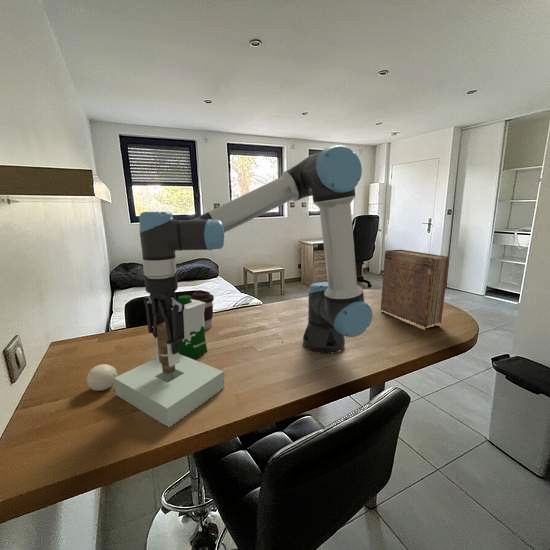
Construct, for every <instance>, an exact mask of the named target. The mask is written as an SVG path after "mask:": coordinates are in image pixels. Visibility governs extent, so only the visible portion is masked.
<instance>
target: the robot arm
mask: <svg viewBox="0 0 550 550" xmlns="http://www.w3.org/2000/svg"><path fill="white" fill-rule="evenodd" d="M362 169H363V168H362V164H361V160H360V158H359V156H358V154H357V153H356V152H355V151H353V150H352V149H351V148H350V147H348V146H345V145H334V146H330V147H326V148H325V147H324V149H323V150H320V151H318V152H317V153H314V154H312V155H309V156H308V157H306V158H305V159H303V160H302V161H300V162H298V163H297V164H295V165H293V167H290V168H288V169H286V170H285V171H283V172H282V173H281V176H280V177H278V178H276V179H274V180H272V181H270V182H268V183H265V184H264V185H262V186H259V187H257V188H256V189H252V190H251V191H249V192H247V193H245V194H242V195H240V196H238V197H236V198H234V199H232V200H230V201H228V202H226V203H224V204H221V205H219V206H218V207H216V208H213V209H211V210H209V211H208V212H204V213H203V214H201V215H198V216H197V217H193V218H191V219H175V218H174V216H173V213H172V211H171V212H170V211H143V212H141V213H140V214H139V217H138V219H139V236H140V245H141V246H140V247H141V253H142V255H141V256H142V265H143V266H142V269H143V275H144V276H145V278H144V286H145V287H144V289H145V291H146V293H148V294H149V295H147V296H144V297H143V298H142V299H143V300H142V301H143V302H144V303H143V304H144V307H145V313H146V315H145V316H146V321H147V324H146V325H147V330H148V333H149V334H152V336H153V338H154V345H155V348H156V349H155V350H156V358H157V361H160V357H159V346H158V335H157V324H159V323H162V322H165V325H166V329H167V334H168V338H169V341H168V342H167V350H168V362H169V366H170V367H171V366H173V365H175V364H177V363H179V341H181V340H183V339H184V338H185V337H184V316H183V311H184V307H185V305H184V303H179V302H178V300H177V296H176V294H175V293H176V291H177V290H178V288H179V286H178V276H177V264H176V263H177V261H176V251H177V252H178V251H179V252H180V251H207V250H208V251H213V250H221V249H222V248H223V247H224V246H225V245H224V244H225V233H228V232H230V231H231V230H233V229H235V228H237V227H239V226H241V225H244V224H245V223H247V222H250V221H251V220H253V219H256V218H258V217H260V216H262V215H265V214H266V213H268V212H270V211H272V210H274V209H276V208H278V207H280V206H282V205H284V204H286V203H288V202H290V201H293V202H298V201H300V200H301V199H305V198H307V197H312V202H313V204H314V205H315V206H317V207H318V208H319V216H320V224H321V233H322V235H321V236H322V241H323V251H324V259H325V260H324V261H325V268H326V276H327V277H326V278H327V281H323V282H321V281H320V282H314V283H312V284H310V285H309V286H308V287H309V289H308V293H307V294H308V313H307V314H308V315H307V319H308V320H307V325H306V328H305V331H304V332H303V333H304V334H303V337H302V344H303V346H304V347H305V348H306V349H307V348H308V351H311V352H314V351H315V353H318V352H320V354H332V353H331V352H335V353H338V352H337V351H339V350H341V349H342V350H343V349H344V348H345V347H344V346H345V344H346V340H345V337H347V338H353V337H358V336H360V335H362V334H364V333H365V332H366V330H368V327H370V325H371V324H372V321H373V317H374V315H373V310H372V307H371V306H370V305H369V303H367V302H365V297H364V296H365V295H364V294H365V293H364V289H363V288H362V286H360V285H358V276H357V264H356V255H355V241H354V230H353V220H352V219H353V217H352V206H351V204H352V202H353V200H355V198H356V189H355V188H356V187H357V186H358V184H359V181H361V178H362V174H363V173H362V172H363V170H362ZM342 350H341V351H342ZM339 352H340V351H339Z"/></svg>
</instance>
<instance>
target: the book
mask: <svg viewBox="0 0 550 550" xmlns="http://www.w3.org/2000/svg"><path fill="white" fill-rule="evenodd" d="M384 251H385V252H384V259H383V260H384V261H383V274H382V276H383V277H382V286H381V287H382V290H381V299H380V301H381V302H380V311H381V310H383V311H386V312H388V313H391V314H393V315H396V316H398V317H401V318H403V319H406V320H409V321H411V322H414V323H416V324H419V325H421V326H424V327H427V326H429V325H432V324H436V323H439V322H440V323H441V324H442V317H443V310H444V303H445V294H446V288H447V281H448V273H449V265H450V256H447V255H440V254H432V253H426V252H419V251H413V250H406V249H405V250H404V249H392V250H384Z"/></svg>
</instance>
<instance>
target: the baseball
mask: <svg viewBox="0 0 550 550" xmlns="http://www.w3.org/2000/svg"><path fill="white" fill-rule="evenodd" d="M117 376H119V375H118V370H117V369H116V368H115V367H114V366H112V365H110V364H106V363H105V364H98V365H96V366H94V367H92V368H91V369H90V370H89V371H88V373H87V376H86V382H87V385H88V386H89V388H90V389H91V390H93V391H99V392H101V391H105V390H107V389H109V388H110V387H111V386H113V384H115V383H114V378H115V377H117Z"/></svg>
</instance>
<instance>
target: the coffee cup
mask: <svg viewBox="0 0 550 550" xmlns="http://www.w3.org/2000/svg"><path fill="white" fill-rule="evenodd" d="M190 296H191V299H193V300H198V301H201V302H205V303H206V304H205V310H204V327H205V331H206V330H209V329H211V328H212V326H213V317H214V313H213V311H214V303H213V301H214V299H215V298H214V297H215V296H214V295H213V294H211V293H210V292H209V291H206V290H201V291H195V292H193V293H192V295H190Z"/></svg>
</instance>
